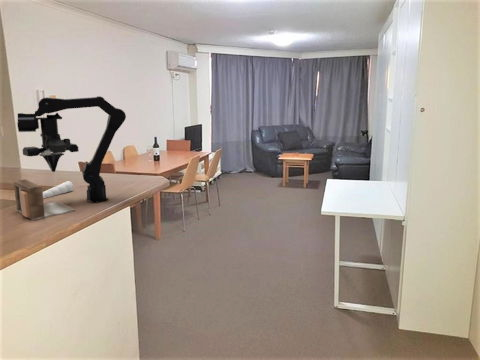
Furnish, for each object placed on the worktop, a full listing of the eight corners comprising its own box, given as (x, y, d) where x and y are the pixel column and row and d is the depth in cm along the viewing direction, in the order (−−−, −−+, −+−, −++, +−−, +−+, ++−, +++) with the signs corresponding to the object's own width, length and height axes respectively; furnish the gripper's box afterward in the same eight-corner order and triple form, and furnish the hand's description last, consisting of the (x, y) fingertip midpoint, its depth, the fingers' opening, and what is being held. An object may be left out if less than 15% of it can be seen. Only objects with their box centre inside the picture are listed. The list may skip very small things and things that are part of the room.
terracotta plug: (40, 211, 140) (37, 188, 138) (44, 213, 137) (42, 190, 135) (22, 214, 135) (19, 191, 134) (26, 217, 133) (23, 193, 131)
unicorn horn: (16, 203, 153) (14, 191, 152) (67, 190, 173) (66, 180, 172) (23, 204, 151) (22, 192, 150) (74, 191, 171) (73, 181, 170)
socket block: (58, 202, 153) (55, 175, 151) (75, 210, 143) (72, 181, 141) (16, 210, 142) (13, 181, 140) (32, 220, 133) (29, 188, 130)
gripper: (31, 134, 133) (36, 178, 137) (83, 131, 147) (86, 171, 150) (19, 132, 141) (24, 173, 144) (70, 129, 154) (73, 167, 158)
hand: (53, 171), depth 149 cm, fingers closed
